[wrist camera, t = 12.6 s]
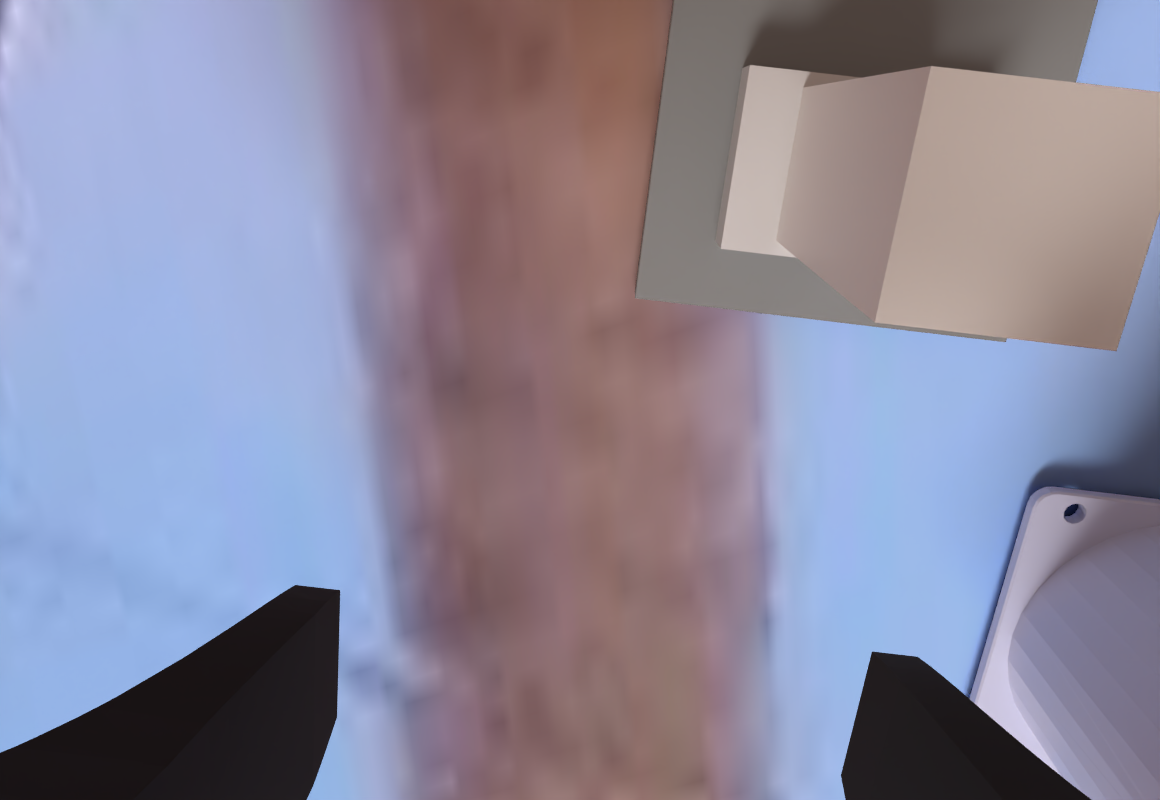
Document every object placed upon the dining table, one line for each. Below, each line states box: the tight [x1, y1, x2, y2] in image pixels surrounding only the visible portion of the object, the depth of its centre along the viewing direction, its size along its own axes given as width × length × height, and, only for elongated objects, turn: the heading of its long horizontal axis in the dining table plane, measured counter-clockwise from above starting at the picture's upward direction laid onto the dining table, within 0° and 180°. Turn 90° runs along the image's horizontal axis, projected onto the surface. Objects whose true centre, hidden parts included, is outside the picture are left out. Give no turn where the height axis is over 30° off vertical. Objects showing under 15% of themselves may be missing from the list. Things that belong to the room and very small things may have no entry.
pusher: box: [715, 65, 1160, 351], centre depth 15 cm, size 5×4×9 cm
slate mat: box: [635, 0, 1098, 342], centre depth 19 cm, size 8×9×1 cm
